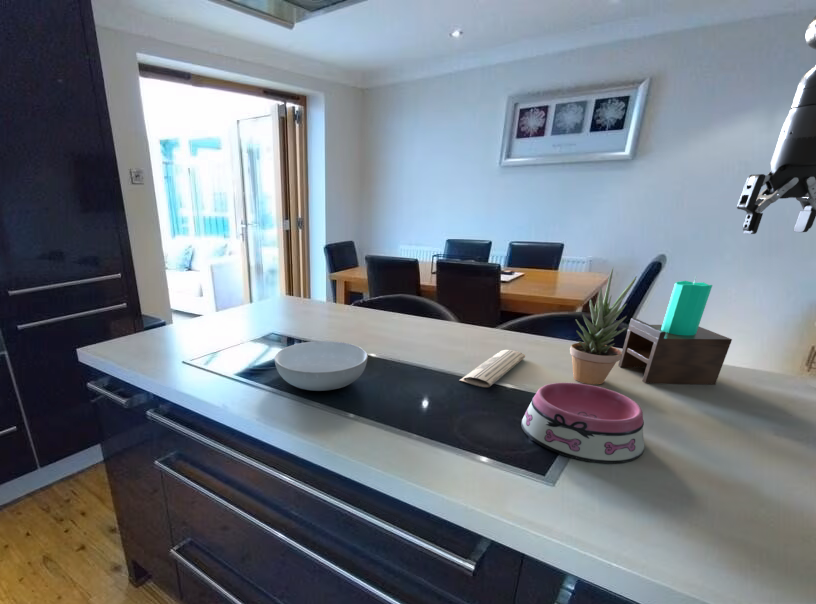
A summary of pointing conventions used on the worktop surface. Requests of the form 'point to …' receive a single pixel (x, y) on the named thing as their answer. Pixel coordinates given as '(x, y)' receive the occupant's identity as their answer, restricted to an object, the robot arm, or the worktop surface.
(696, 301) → the candle
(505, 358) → the newspaper
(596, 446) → the dog bowl
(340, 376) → the serving bowl
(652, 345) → the shelf
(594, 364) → the potted plant
